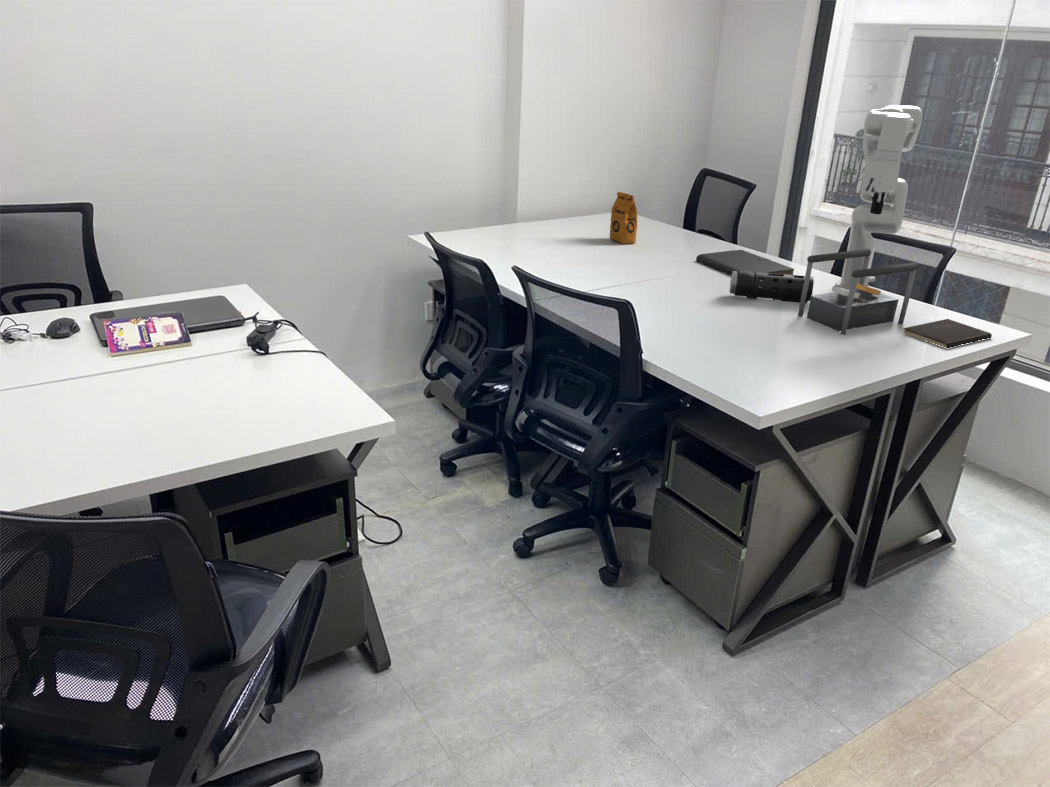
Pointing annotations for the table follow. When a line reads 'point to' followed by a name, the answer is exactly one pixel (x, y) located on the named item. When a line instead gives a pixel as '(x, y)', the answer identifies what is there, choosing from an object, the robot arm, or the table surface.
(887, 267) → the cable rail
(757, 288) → the muzzle brake
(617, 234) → the coffee package
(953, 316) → the table surface
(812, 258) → the rail
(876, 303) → the box
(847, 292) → the set paddle
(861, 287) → the paddle
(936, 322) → the hardcover book
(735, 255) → the file folder
